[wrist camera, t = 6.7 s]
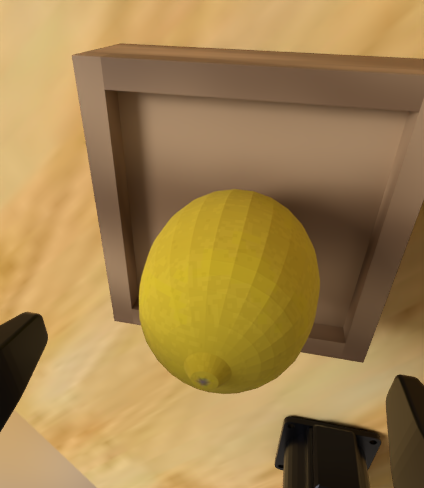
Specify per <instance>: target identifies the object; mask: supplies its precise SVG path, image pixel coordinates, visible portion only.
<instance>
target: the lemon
mask: <svg viewBox="0 0 424 488" xmlns="http://www.w3.org/2000/svg"><path fill="white" fill-rule="evenodd" d="M319 291H320V276H319V270H318V264H317V258H316V253H315V249H314V247H313V244H312V242H311V240H310V238H309V236H308V235H307V233H306V231H305V229H304V227H303V225H302V224H301V223H300V221H299V220H298V219H297V218H296V217H295V216H294V215H293V214H292V213H291V212H290V210H289V209H287V208H286V207H285V206H283V205H282V204H280V203H279V202H277V201H276V200H274V199H273V198H271V197H268V196H265V195H263V194H260V193H257V192H254V191H248V190H239V189H231V190H223V191H215V192H212V193H210V194H207V195H204V196H202V197H199V198H197V199H195V200H193V201H192V202H190V203H189V204H188V205H186V206H185V207H184V208H182V209H181V210H180V211H178V212H177V213H176V214H175V215H173V217H172V218H171V219H170V220H169V221H168V223H167V224H166V225H165V227H164V228H163V229H162V231H161V232H160V233H159V235H158V236H157V238H156V239H155V241H154V243H153V244H152V246H151V249H150V252H149V254H148V257H147V261H146V264H145V267H144V270H143V273H142V277H141V282H140V289H139V319H140V323H141V326H142V330H143V333H144V336H145V339H146V342H147V344H148V345H149V347H150V349H151V350H152V352H153V353H154V355H155V357H156V358H157V360H158V361H159V362H160V363H161V364H162V365H163V366H164V367H165V368H166V369H167V370H168V371H169V372H170V373H171V374H172V375H173V376H175V377H176V378H178V379H179V380H181V381H182V382H184V383H186V384H188V385H190V386H192V387H194V388H196V389H200V390H203V391H207V392H213V393H221V394H231V393H240V392H244V391H248V390H252V389H256V388H258V387H260V386H262V385H264V384H266V383H268V382H270V381H272V380H274V379H276V378H277V377H278V376H279V375H281V374H282V373H283V372H284V371H285V370H286V369H287V368H288V367H289V366H290V365H291V364H292V363H293V362H294V361H295V360H296V358H297V357H298V355H299V354H300V352H301V350H302V348H303V346H304V344H305V342H306V341H307V339H308V336H309V334H310V332H311V329H312V327H313V324H314V320H315V316H316V310H317V304H318V298H319Z"/></svg>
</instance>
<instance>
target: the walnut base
mask: <svg viewBox="0 0 424 488" xmlns="http://www.w3.org/2000/svg"><path fill="white" fill-rule="evenodd" d="M72 60H73V66H74V72H75V78H76V84H77V91H78V97H79V103H80V109H81V115H82V122H83V128H84V134H85V140H86V146H87V153H88V159H89V165H90V171H91V177H92V184H93V190H94V196H95V202H96V208H97V215H98V221H99V227H100V233H101V239H102V246H103V252H104V258H105V264H106V270H107V277H108V283H109V289H110V295H111V301H112V308H113V314H114V320H115V321H119V322H125V323H131V324H137V325H141V323H140V319H139V289H140V282H141V277H142V273H143V270H144V267H145V264H146V261H147V257H148V254H149V252H150V249H151V246H152V244H153V243H154V241H155V239H156V238H157V236H158V235H159V233H160V232H161V231H162V229H163V228H164V227H165V225H166V224H167V223H168V221H169V220H170V219H171V218H172V217H173V215H175V214H176V213H177V212H178V211H180V210H181V209H182V208H184V207H185V206H186V205H188V204H189V203H190V202H192V201H193V200H195V199H197V198H199V197H202V196H204V195H207V194H210V193H212V192H215V191H223V190H231V189H239V190H248V191H254V192H257V193H260V194H263V195H265V196H268V197H271V198H273V199H274V200H276V201H277V202H279V203H280V204H282V205H283V206H285V207H286V208H287V209H289V210H290V212H291V213H292V214H293V215H294V216H295V217H296V218H297V219H298V220H299V221H300V223H301V224H302V225H303V227H304V229H305V231H306V233H307V235H308V236H309V238H310V240H311V242H312V244H313V247H314V249H315V253H316V258H317V264H318V270H319V276H320V291H319V298H318V304H317V310H316V316H315V320H314V324H313V327H312V329H311V332H310V334H309V336H308V339H307V341H306V342H305V344H304V346H303V348H302V350H301V352H303V353H309V354H315V355H321V356H327V357H333V358H339V359H345V360H351V361H357V362H364V359H365V357H366V354H367V351H368V349H369V346H370V343H371V341H372V338H373V335H374V332H375V330H376V327H377V324H378V322H379V319H380V316H381V314H382V311H383V308H384V306H385V303H386V300H387V297H388V295H389V292H390V289H391V287H392V284H393V281H394V279H395V276H396V273H397V271H398V268H399V265H400V262H401V260H402V257H403V254H404V252H405V249H406V246H407V244H408V241H409V238H410V235H411V233H412V230H413V227H414V225H415V222H416V219H417V217H418V214H419V211H420V209H421V206H422V203H423V200H424V59H413V58H393V57H373V56H354V55H334V54H314V53H295V52H275V51H255V50H235V49H216V48H196V47H176V46H156V45H137V44H117V45H113V46H108V47H104V48H100V49H96V50H91V51H87V52H83V53H79V54H75V55H72Z"/></svg>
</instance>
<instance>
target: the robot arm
mask: <svg viewBox="0 0 424 488" xmlns="http://www.w3.org/2000/svg"><path fill="white" fill-rule="evenodd" d="M47 341H48V334H47V331H46V327H45V324H44V321H43V318H42V316H41V315H40V314H37V313H31V312H24V313H22V314H20V315H18V316H16V317H15V318H13V319H11V320H9V321H7V322H5V323H4V324H2V325H0V432H1V430H2V429H3V427H4V425H5V423H6V422H7V420H8V419H9V417H10V415H11V414H12V412H13V410H14V409H15V407H16V405H17V403H18V402H19V400H20V398H21V396H22V395H23V393H24V391H25V389H26V387H27V384H28V382H29V380H30V378H31V376H32V374H33V372H34V370H35V368H36V365H37V363H38V361H39V359H40V357H41V355H42V353H43V351H44V348H45V346H46V344H47ZM386 413H387V426H388V439H389V451H390V463H391V473H392V479H393V485H394V488H424V385H423V384H422V383H421V382H420V381H419V380H418V379H417V378H415V377H412V376H406V375H397V376H396V377H395V379H394V381H393V383H392V386H391V388H390V390H389V392H388V394H387V398H386ZM380 445H381V439H380V436H379V435H378V434H377V433H373V432H368V431H363V430H358V429H352V428H347V427H342V426H337V425H332V424H327V423H321V422H316V421H311V420H306V419H301V418H296V417H286V418H285V419H284V422H283V427H282V431H281V436H280V440H279V444H278V449H277V453H276V458H275V467H276V468H277V469H280V470H283V488H370V484H369V477H368V469H369V467H370V465H371V463H372V461H373V459H374V457H375V455H376V453H377V451H378V449H379V447H380Z"/></svg>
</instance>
